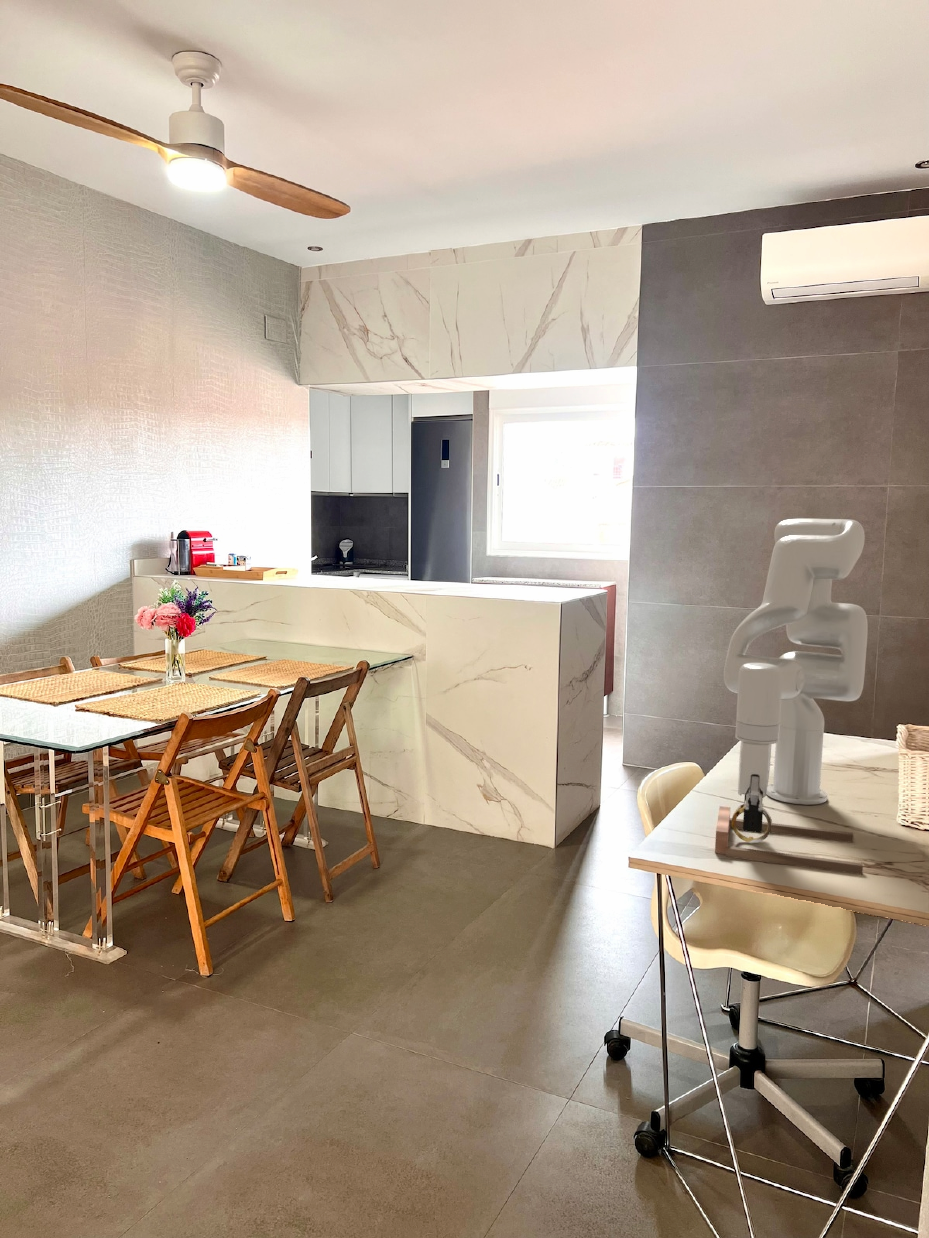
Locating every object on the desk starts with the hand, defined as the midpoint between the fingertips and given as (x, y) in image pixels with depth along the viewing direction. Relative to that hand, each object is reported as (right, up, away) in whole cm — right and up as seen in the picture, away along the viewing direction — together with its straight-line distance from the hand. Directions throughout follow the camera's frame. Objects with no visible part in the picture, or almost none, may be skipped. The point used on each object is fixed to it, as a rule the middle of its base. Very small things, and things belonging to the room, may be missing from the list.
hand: (752, 822), depth 163 cm
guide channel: (+5, -4, -2) cm, 7 cm away
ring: (0, -4, 0) cm, 4 cm away
